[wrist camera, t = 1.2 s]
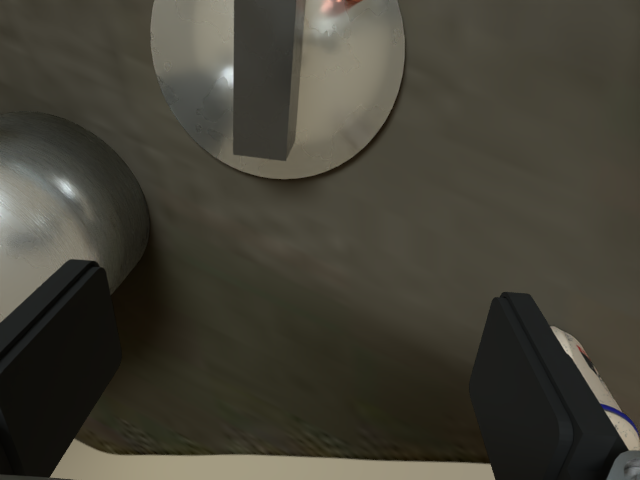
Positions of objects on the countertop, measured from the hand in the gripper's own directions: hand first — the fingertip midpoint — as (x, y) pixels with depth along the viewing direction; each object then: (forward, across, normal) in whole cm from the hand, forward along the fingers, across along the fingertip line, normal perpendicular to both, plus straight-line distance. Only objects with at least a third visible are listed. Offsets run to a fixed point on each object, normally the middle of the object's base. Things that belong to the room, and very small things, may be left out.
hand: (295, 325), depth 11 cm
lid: (+23, +4, -4) cm, 23 cm away
